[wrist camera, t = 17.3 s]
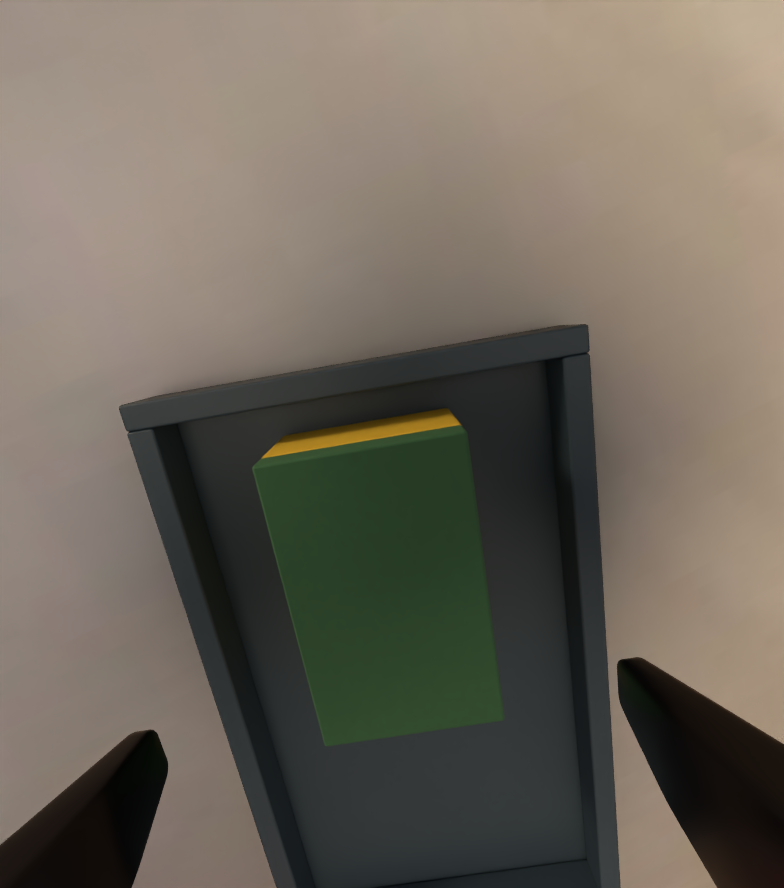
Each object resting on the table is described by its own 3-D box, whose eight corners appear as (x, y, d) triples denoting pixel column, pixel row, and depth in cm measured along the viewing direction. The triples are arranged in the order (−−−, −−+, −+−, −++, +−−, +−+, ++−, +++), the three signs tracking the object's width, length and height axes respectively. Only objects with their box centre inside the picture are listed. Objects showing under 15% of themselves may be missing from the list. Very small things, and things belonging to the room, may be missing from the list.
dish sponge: (481, 641, 16) (505, 721, 13) (337, 663, 16) (324, 748, 13) (448, 407, 14) (467, 430, 11) (282, 435, 14) (250, 466, 11)
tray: (598, 853, 20) (622, 912, 18) (306, 892, 20) (298, 955, 18) (560, 325, 14) (589, 323, 12) (154, 396, 15) (116, 406, 12)
